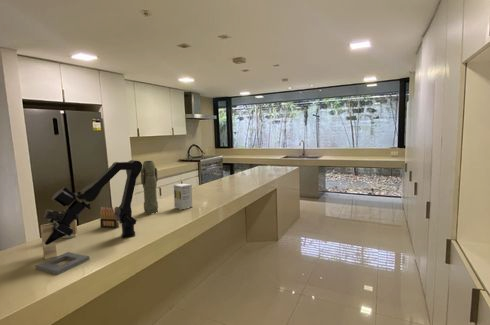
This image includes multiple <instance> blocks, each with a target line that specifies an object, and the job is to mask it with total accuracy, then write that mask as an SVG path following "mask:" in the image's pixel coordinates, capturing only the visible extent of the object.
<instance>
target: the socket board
mask: <svg viewBox="0 0 490 325" xmlns="http://www.w3.org/2000/svg"><path fill="white" fill-rule="evenodd" d="M65 260H67V261H68V262H66V263H63V264H62V265H57V264H59V263H61V262H63V261H65ZM87 261H90V256H89V255H85V254H84V255H83V254H79V253H74V252H69V251H67V252H65V253H63V254H59V255H57V257H54V258H50V259H46V261H42V262H41V263H38V264H35V269H36V270H38V271H42V272H45V273H50V274H54V275H57V276H58V275H61V274H63V273H64V272H67V271H69V270H71V269H73V268H75V267H77V266H79V265H81V264H84V263H86V262H87Z"/></svg>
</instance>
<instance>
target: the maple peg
mask: <svg viewBox="0 0 490 325" xmlns="http://www.w3.org/2000/svg"><path fill="white" fill-rule="evenodd" d="M49 223H50V224H49ZM49 223H46V224H45V223H44V224H41V225H40V233H41V245H42V253H43V255H42V256H43V259H45V260H46V261H47V260H50V259H52V258H55V257H57V256H58V255H57V244H56V240H55V241H54V242H52V243H50V244H48V245H46V244H45V242H46V241H47V239H48V238H49V236H50V235H51V233H52V232H53V228H52V227H54V225H53V224H52V222H49Z"/></svg>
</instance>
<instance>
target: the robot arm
mask: <svg viewBox="0 0 490 325" xmlns="http://www.w3.org/2000/svg"><path fill="white" fill-rule="evenodd" d="M142 168H143V163H142V162H141V161H140V160H134V159H133V160H132V159H131V160H129V161H123V162H122V161H115V162H113V163H112V165H110V166H109V167H108V168H107V169H106V170H105V171H104V172H103V173H102V174H101V175H99V177H98V178H97V179H96V180H95V181H94V182H92V183H90V184H88V185H86V186H85V187H84V188H82V189H81V190H80V191H77V192H72V191H70V190H69V189H68V188H67V187H65V186H63V187H62V188H61V189H59V190H58V191H56V192H55V193H54V195H53V196H52V197H51V200H52V201H54V202H56V203H57V204H59V205H60V206H62V207H67V208H65V209H63V210H61V211H59V210H56V209H53V210H52V209H46V210H45V211H44V212H45V213H44V215H43V217H44V219H47V222H48V224H50V223H52V224H53V225H54V227H52V228H53V232H52V233H51V235H50V236H49V238H48V239H47V241H46V242H45V244H46V245H48V244H50V243H52V242H54V241H55V242H56V241H57V240H59V239H61V238H62V237H63V236H66V235H68V236H70V235H71V234H72V233H73V229H71V228H70V227H71V226H70V224H71V223H72V222H73V221H74V220H78V217H79V215H80V214H81V213H82V212H83V211H84V210H85V209H87V210H91V203H90V202H93V201H95V200H96V198H97V197H98V196H99V194H100V193H101V191H102V189H103V188H104V187H105V185H107V184H108V183H109V182H110V180H112V179H113V178H114V177H115V176H116V175H117V174H118V173H119V172H120V171H125V173H126V180H125V185H124V189H123V195H122V199H121V202H120V205H119V206H115V207H116V211H115V213H114V215H115V218H116V219H117V220H118V223H119V224H121V237H120V238H121V239H125V238H131V237H136V230H135V225H136V224H137V219H135V218H133V216H132V212H133V210H132V207H131V206H132V205H131V204H132V201H133V196H134V191H135V186H136V182H137V179H138V177H139V175H141V169H142ZM77 199H78V200H77ZM85 201H86V202H85Z"/></svg>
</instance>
